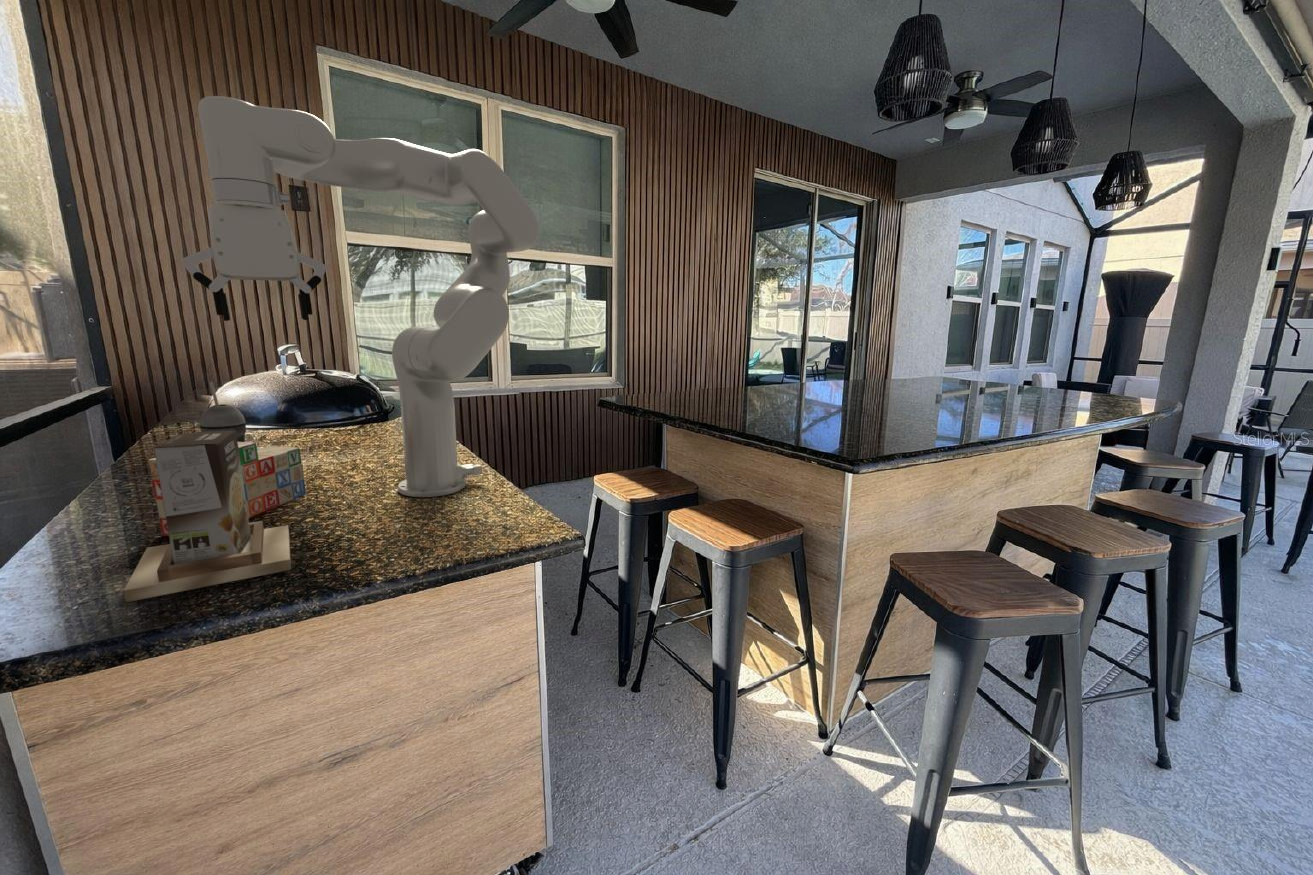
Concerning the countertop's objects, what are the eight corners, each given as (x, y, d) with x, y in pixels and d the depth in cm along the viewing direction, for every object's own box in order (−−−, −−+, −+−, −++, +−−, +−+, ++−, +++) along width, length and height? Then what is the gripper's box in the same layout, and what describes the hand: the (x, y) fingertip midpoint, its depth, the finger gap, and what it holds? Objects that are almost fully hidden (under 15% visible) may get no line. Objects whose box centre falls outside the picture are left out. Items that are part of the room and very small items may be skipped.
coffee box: (237, 563, 69) (218, 443, 66) (173, 572, 67) (150, 447, 63) (252, 537, 77) (237, 429, 74) (196, 544, 75) (177, 432, 71)
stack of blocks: (277, 492, 101) (268, 429, 99) (306, 495, 101) (299, 431, 98) (161, 536, 81) (146, 458, 78) (197, 539, 80) (184, 460, 77)
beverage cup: (235, 487, 103) (220, 384, 99) (198, 486, 103) (181, 383, 99) (263, 476, 110) (250, 380, 106) (228, 475, 110) (213, 379, 106)
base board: (289, 534, 82) (286, 515, 82) (291, 569, 71) (288, 548, 71) (149, 557, 73) (145, 537, 73) (126, 602, 62) (121, 578, 62)
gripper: (315, 208, 84) (330, 319, 89) (170, 195, 74) (195, 320, 78) (320, 201, 79) (336, 320, 83) (163, 186, 69) (190, 321, 73)
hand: (267, 320), depth 81 cm, fingers open, 9 cm apart
